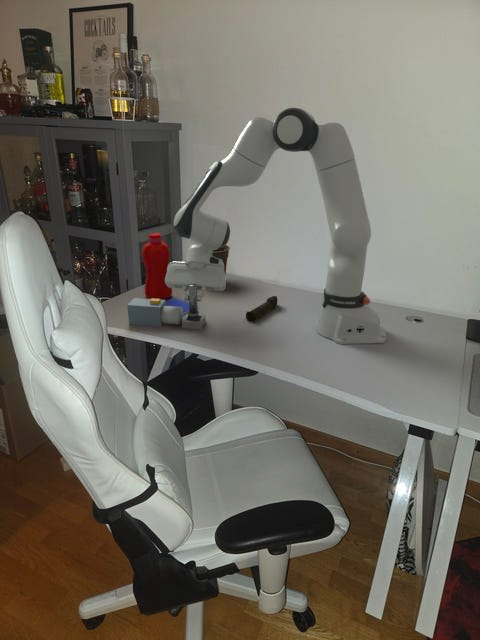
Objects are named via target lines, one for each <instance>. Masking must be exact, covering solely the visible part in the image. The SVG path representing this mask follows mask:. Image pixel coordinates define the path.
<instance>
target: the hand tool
mask: <svg viewBox="0 0 480 640" xmlns="http://www.w3.org/2000/svg"><path fill="white" fill-rule="evenodd" d="M277 306H278V296H277V295H271V296H270V297H268V298H267V299H266V301H265V302H264V303H262V304H260V305H258V306H257V307H255V308H253V309H251V310H249V311H246V313H245V320H246V321H248V322H251V323H255V322H256V321H258V319H259V318H261V316H264V315H265V314H267V313H268V312H269V311H274V310H275V309H276V308H277Z"/></svg>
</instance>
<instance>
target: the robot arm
mask: <svg viewBox="0 0 480 640" xmlns="http://www.w3.org/2000/svg"><path fill="white" fill-rule="evenodd" d="M279 149H281V150H284V151H286V152H292V153H297V152H308V153H309V154H310V156H311V158H312V160H313V164H314V167H315V168H314V169H315V171H316V177H317V179H318V183H319V187H320V188H319V189H320V190H321V195H322V200H323V205H324V210H325V215H326V219H327V225H328V229H329V233H330V237H331V241H330V242H331V243H330V249H329V258H328V264H327V273H326V283H325V288H324V289H323V293H322V302H321V305H322V309H321V313H320V317H319V319H318V322H317V323H316V327H315V331H316V332H317V333H318V334H319V335H320V336H322V337H324V338H327V339H330V340H332V341H333V342H335V343H336V344H340V345H343V344H344V345H346V344H347V345H348V344H349V345H350V344H351V345H353V344H355V345H356V344H358V345H359V344H360V345H361V344H384V343H385V342H386V341H387V332H386V331H385V329H384V328H383V326H381V320H380V317H379V315H378V314H377V312H376V311H375V310H374V309H372V307H370V306H369V305H370V303H371V300H370V298H369V297H368V296H367V294H365V292H364V291H362V288H363V282H364V281H363V280H364V274H365V269H366V267H365V266H366V260H367V259H366V258H367V251H368V245H369V243H370V241H371V237H372V228H371V222H370V219H369V216H368V212H367V207H366V201H365V197H364V193H363V187H362V184H361V179H360V175H359V171H358V166H357V162H356V161H357V160H356V158H355V153H354V150H353V146H352V144H351V141H350V138H349V135H348V133H347V131H346V129H345V127H344V126H343V125H342V124H340V123H338V122H327V123H325V124H318V123H317V122H316V120H315V117H313V115H311V114H310V112H308V111H307V110H305V109H302V108H298V107H289V108H285V109H284V110H282V111H280V112H279V113H278V114H277V116H276V117H275V119H274V121H272V120H269V119H267V118H265V117H259V116H258V117H254V118H252V119H250V120H249V121H248V123H247V124H246V126H245V128H244V129H243V131H242V132H241V133H240V135H239V137H238V138H237V141H236V142H235V144H234V146H233V148H232V150H231V152H230V153H229V154H228V155H227V156H226V157H225V158H224V159H222V160H220V161H219V160H218V161H215V162H214V163H213V164H212V165H211V166H210V167H209V168H208V170H207V171H206V172H205V174H204V175H203V177H201V179H200V181H199V182H198V183H197V185H196V187H195V188H194V190H193V191H192V193H191V194H190V195H189V197H188V199H186V201H185V203H183V204H182V205H181V207H180V208H179V209H178V211H177V212H176V214H175V216H174V218H173V219H174V220H173V224H172V225H173V228H174V230H175V233H176V234H177V235H178V237H181V238H185V239H188V249H187V250H186V256H185V261H172V262H169V263H168V267H167V274H166V277H165V284H166V285H167V286H168V287H169V288H172V289H182V292H183V294H184V295H183V301H185V302H186V301H188V302H189V293H187V292H188V291H189V287H188V285H189V284H197V291H199V290H201V292H200V293H199V294H197V299H196V300H197V302H202V301H203V298H204V296H205V295H206V294H207V291H214V292H215V291H217V292H224V291H225V289H226V287H227V283H226V282H227V281H226V280H227V279H226V277H227V276H225V272H224V263H223V261H222V260H221V259H219V258H216V257H213V256H212V252H213V250H218V249H220V248H221V247H223V246H225V245H228V243H229V240H230V236H231V228H230V225H229V223H228V221H227V220H225V219H223V218H221V217H218V216H216V215H212V214H210V213H208V212H205V211H202V210H201V208H202V206H203V205H204V203H205V202H206V201H207V199H208V198H209V196H210V195H211V194H212V192H213V191H214V190H216V189H218V188H221V187H223V188H224V187H240V188H241V187H248V186H251V185H254V184H255V183H257V182H258V180H259V179H260V178H261V176H262V175H263V173H264V171H265V169H266V167H267V165H268V164H269V161H270V159H271V158H272V157H273V154H274V153H275V152H276V151H277V150H279Z"/></svg>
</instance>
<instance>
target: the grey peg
mask: <svg viewBox="0 0 480 640" xmlns="http://www.w3.org/2000/svg"><path fill="white" fill-rule="evenodd" d="M188 287H189V289H188V294H189V301H188V303H189V311H188V313H187V314H188V317H189V318H198V317H199V314H200V312H199V310H198V309H199V307H198V308H197V306H198V301H197V300H196V299H197V295H198V290H197V284H189V285H188Z"/></svg>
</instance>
